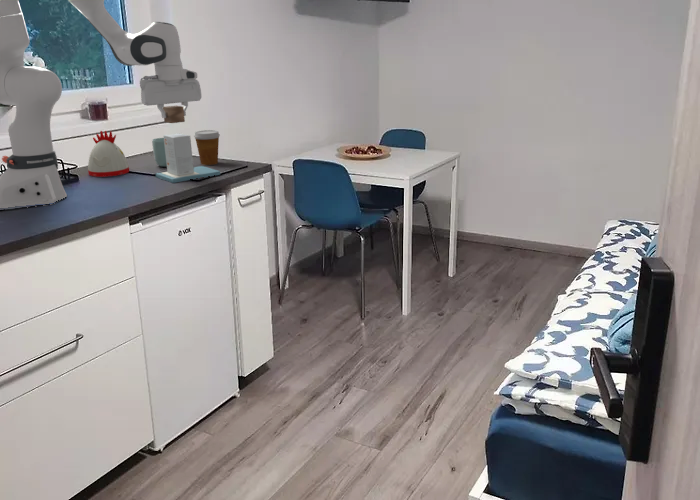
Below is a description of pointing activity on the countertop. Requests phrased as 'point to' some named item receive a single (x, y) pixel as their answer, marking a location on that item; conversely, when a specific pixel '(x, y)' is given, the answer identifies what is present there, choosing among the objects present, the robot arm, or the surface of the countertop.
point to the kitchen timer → (107, 157)
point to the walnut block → (174, 114)
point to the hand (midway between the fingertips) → (174, 116)
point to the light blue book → (198, 173)
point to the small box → (178, 154)
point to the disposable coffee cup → (207, 146)
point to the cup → (159, 152)
